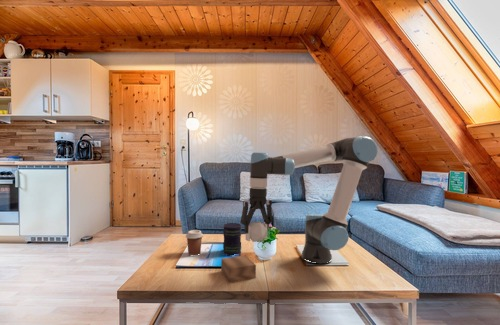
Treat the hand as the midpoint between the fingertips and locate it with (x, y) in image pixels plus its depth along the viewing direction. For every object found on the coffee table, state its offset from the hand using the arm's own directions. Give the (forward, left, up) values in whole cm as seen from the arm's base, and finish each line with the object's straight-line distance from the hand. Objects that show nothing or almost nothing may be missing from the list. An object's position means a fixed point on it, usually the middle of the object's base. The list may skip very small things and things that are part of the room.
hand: (256, 239), depth 118 cm
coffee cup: (+17, -37, -16) cm, 44 cm away
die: (0, 0, -1) cm, 1 cm away
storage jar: (-2, -31, -16) cm, 35 cm away
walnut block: (+7, -5, -16) cm, 18 cm away
